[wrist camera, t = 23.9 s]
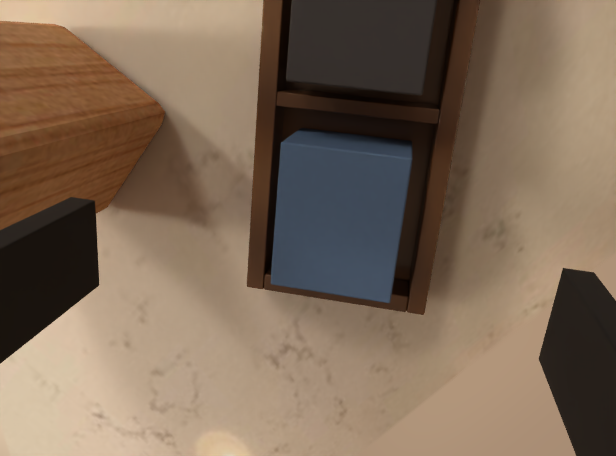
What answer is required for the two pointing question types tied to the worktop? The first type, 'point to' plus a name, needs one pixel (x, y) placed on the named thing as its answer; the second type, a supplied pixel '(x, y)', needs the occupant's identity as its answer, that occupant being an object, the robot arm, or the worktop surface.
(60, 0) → the worktop surface
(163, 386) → the worktop surface
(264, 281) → the holder
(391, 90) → the dark grey block
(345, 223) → the slate blue block
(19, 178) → the decorative item
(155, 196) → the worktop surface
